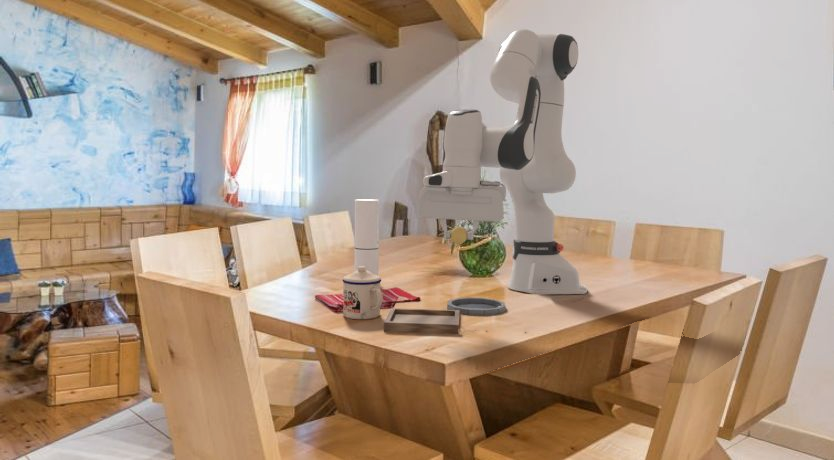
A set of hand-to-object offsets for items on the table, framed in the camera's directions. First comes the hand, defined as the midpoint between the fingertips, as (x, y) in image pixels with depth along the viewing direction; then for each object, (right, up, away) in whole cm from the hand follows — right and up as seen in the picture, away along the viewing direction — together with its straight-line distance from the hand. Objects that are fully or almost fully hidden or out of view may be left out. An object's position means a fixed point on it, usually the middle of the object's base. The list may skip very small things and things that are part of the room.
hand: (458, 239), depth 152 cm
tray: (-8, -19, -5) cm, 21 cm away
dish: (+5, -18, +8) cm, 20 cm away
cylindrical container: (-25, -14, +43) cm, 51 cm away
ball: (0, -1, 0) cm, 1 cm away
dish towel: (-22, -17, +18) cm, 33 cm away
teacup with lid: (-22, -18, +1) cm, 29 cm away
